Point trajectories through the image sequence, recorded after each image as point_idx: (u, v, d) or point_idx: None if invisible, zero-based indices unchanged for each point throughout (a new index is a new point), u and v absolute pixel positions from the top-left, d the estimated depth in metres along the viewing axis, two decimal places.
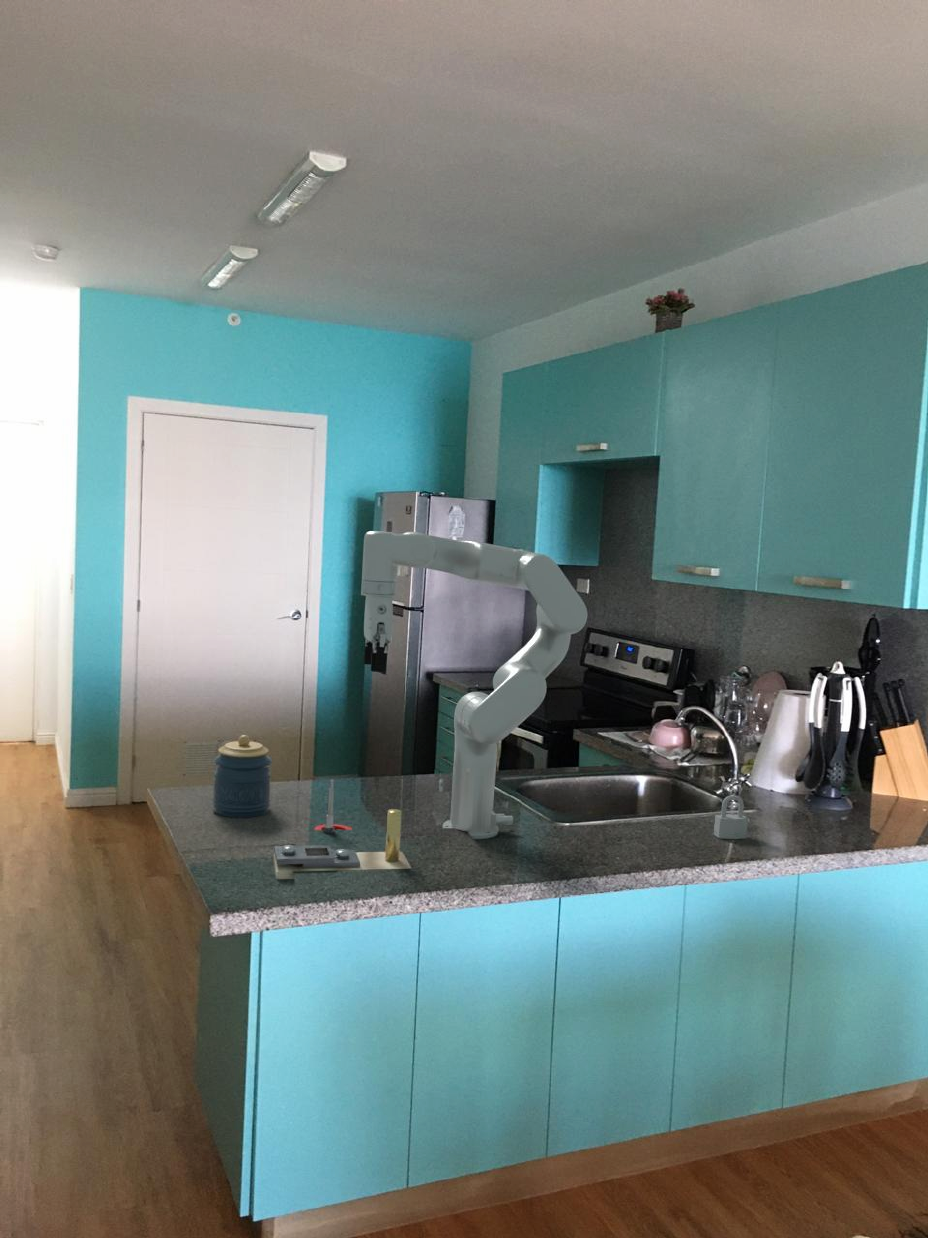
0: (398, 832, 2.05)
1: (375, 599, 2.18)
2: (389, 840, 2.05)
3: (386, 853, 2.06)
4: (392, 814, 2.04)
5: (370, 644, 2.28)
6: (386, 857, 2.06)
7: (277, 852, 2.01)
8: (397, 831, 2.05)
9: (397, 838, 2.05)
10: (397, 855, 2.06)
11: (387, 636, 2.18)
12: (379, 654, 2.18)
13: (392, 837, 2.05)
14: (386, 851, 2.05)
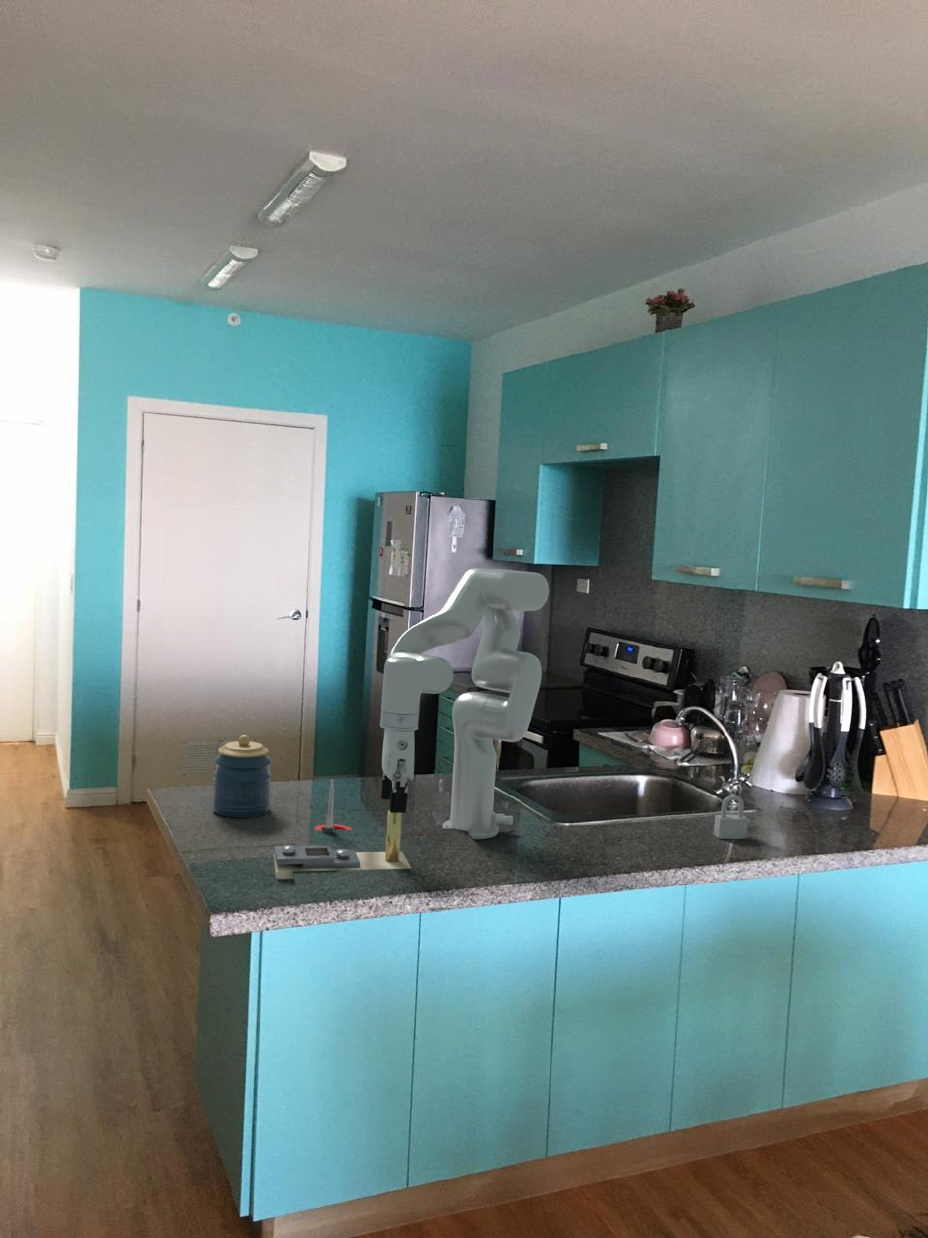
0: (398, 832, 2.05)
1: (396, 733, 1.99)
2: (389, 840, 2.05)
3: (386, 853, 2.06)
4: (392, 814, 2.04)
5: (388, 777, 2.09)
6: (386, 857, 2.06)
7: (277, 852, 2.01)
8: (397, 831, 2.05)
9: (397, 838, 2.05)
10: (397, 855, 2.06)
11: (408, 774, 2.00)
12: (399, 794, 1.99)
13: (392, 837, 2.05)
14: (386, 851, 2.05)
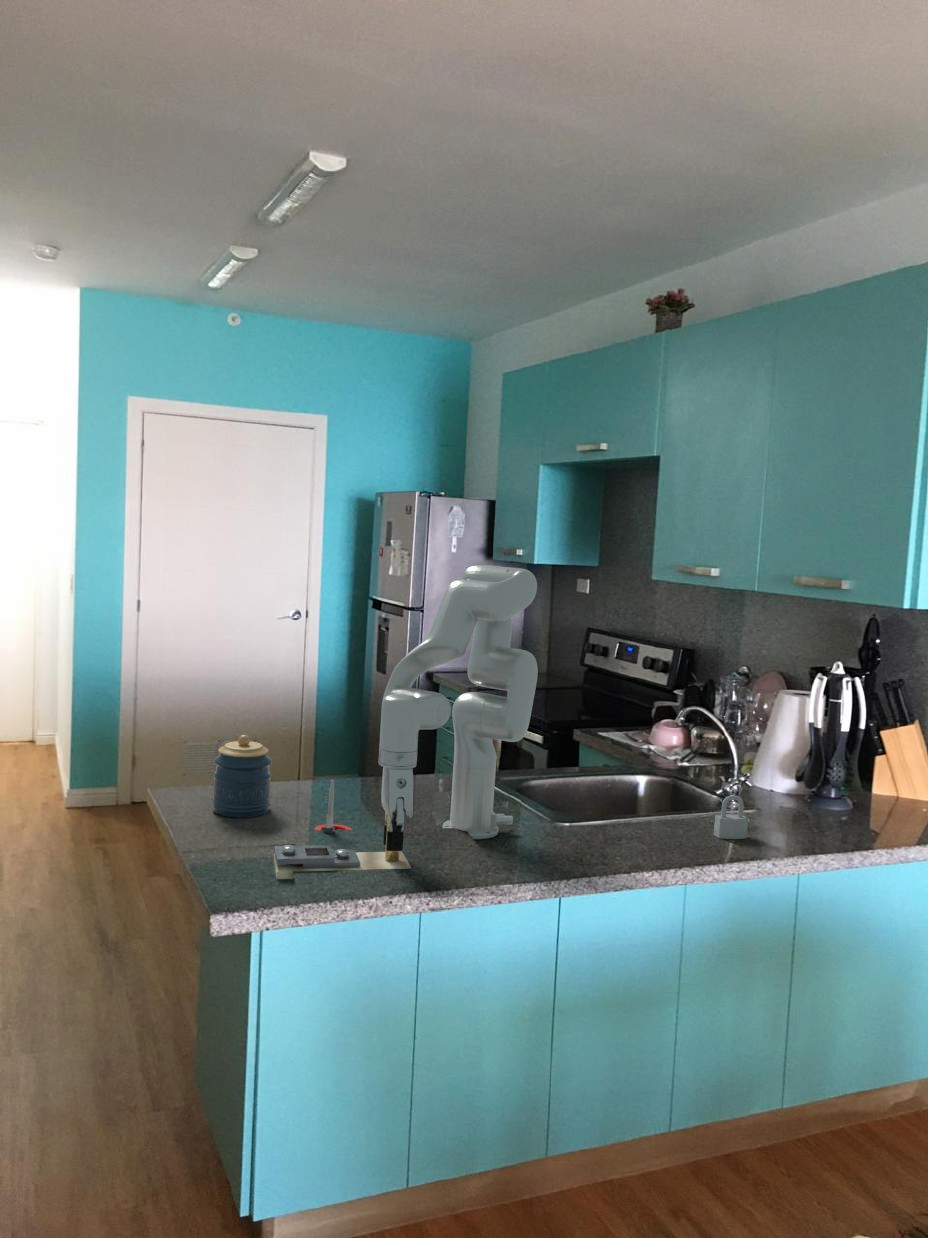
0: None
1: (394, 772, 2.00)
2: None
3: (386, 853, 2.06)
4: None
5: None
6: (386, 857, 2.06)
7: (277, 852, 2.01)
8: None
9: None
10: (397, 855, 2.06)
11: (407, 811, 2.01)
12: (395, 833, 2.03)
13: None
14: (387, 851, 2.06)
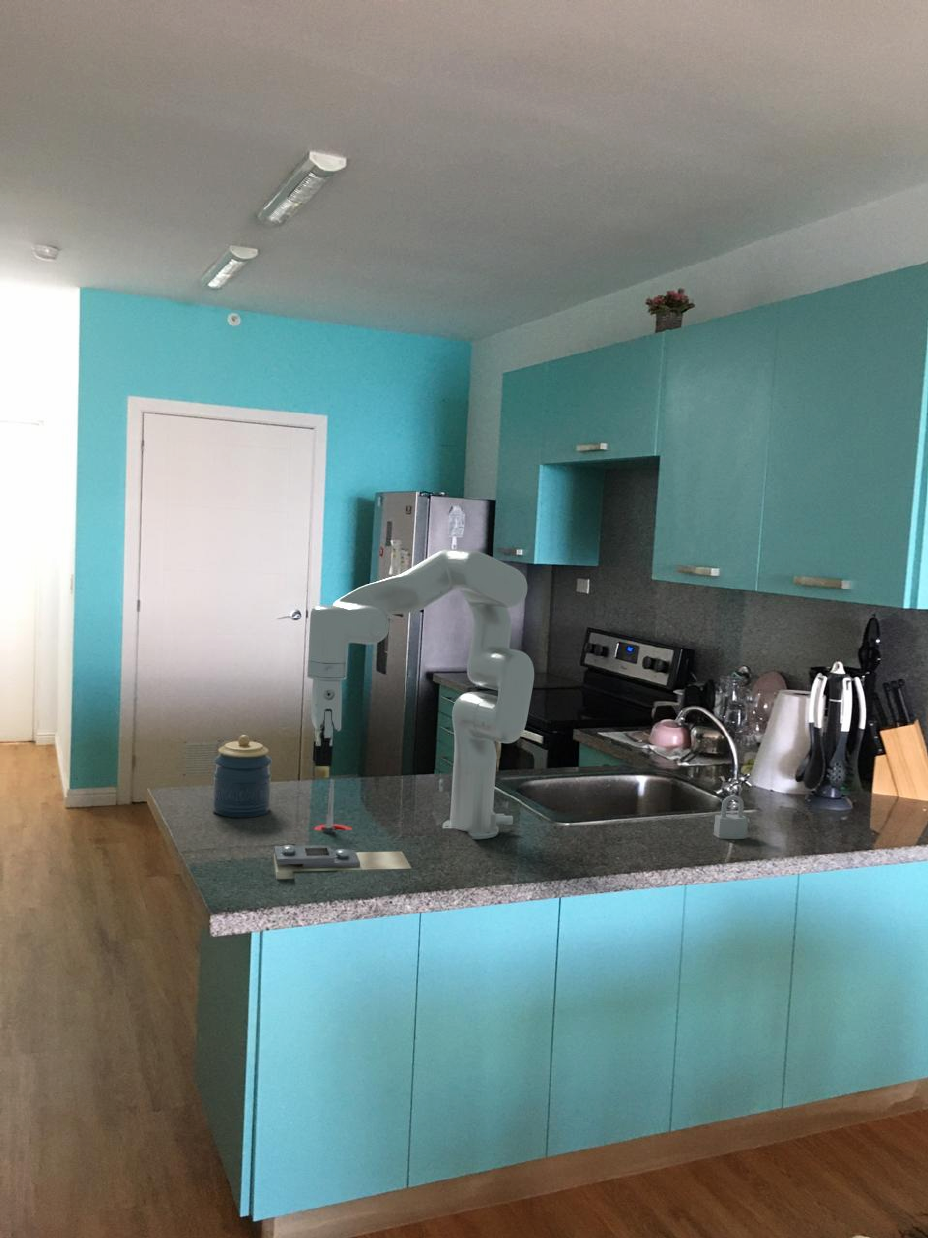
0: None
1: (322, 683, 1.95)
2: None
3: (315, 769, 2.00)
4: (321, 728, 1.99)
5: None
6: (315, 773, 2.00)
7: (277, 852, 2.01)
8: None
9: None
10: (326, 771, 2.00)
11: (335, 724, 1.96)
12: (324, 747, 1.98)
13: None
14: (315, 767, 2.00)
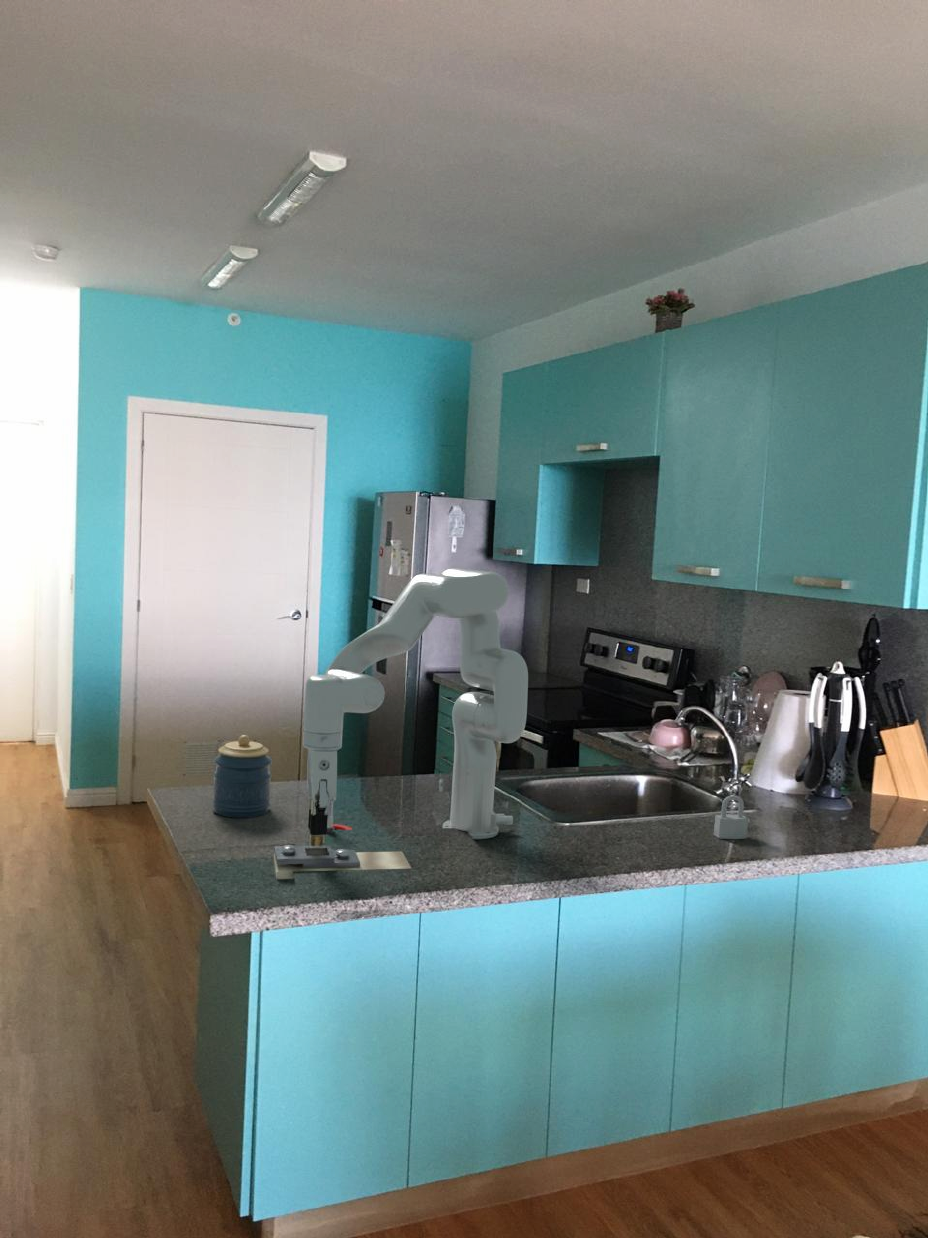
0: None
1: (317, 753, 1.96)
2: None
3: (310, 837, 2.01)
4: (316, 797, 2.00)
5: None
6: (310, 841, 2.01)
7: (277, 852, 2.01)
8: None
9: None
10: (321, 839, 2.01)
11: (330, 794, 1.97)
12: (319, 816, 1.99)
13: None
14: (311, 835, 2.01)
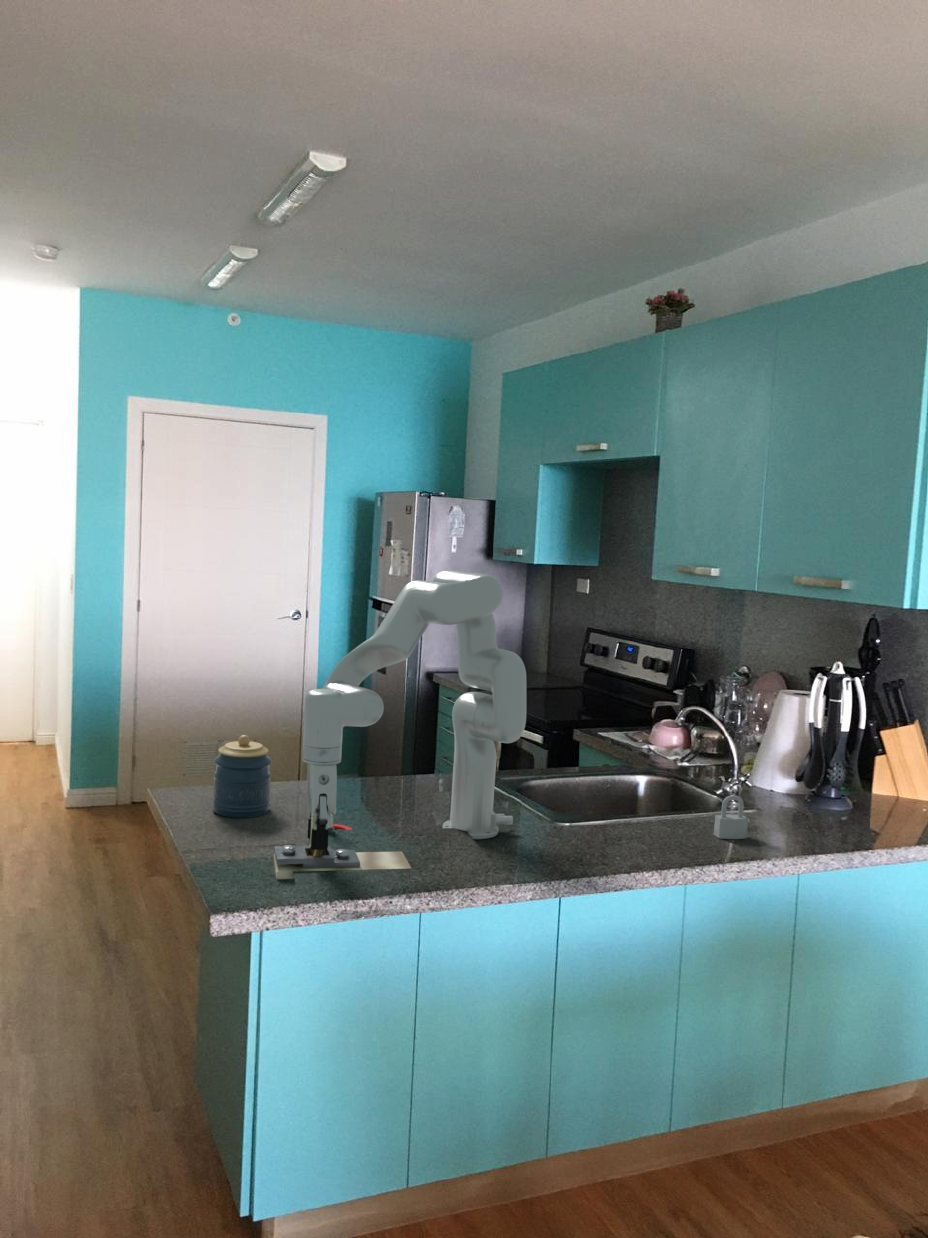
0: None
1: (317, 768, 1.96)
2: None
3: (310, 854, 2.02)
4: None
5: None
6: None
7: (277, 852, 2.01)
8: None
9: None
10: None
11: (330, 808, 1.97)
12: (320, 831, 1.98)
13: None
14: (311, 852, 2.02)
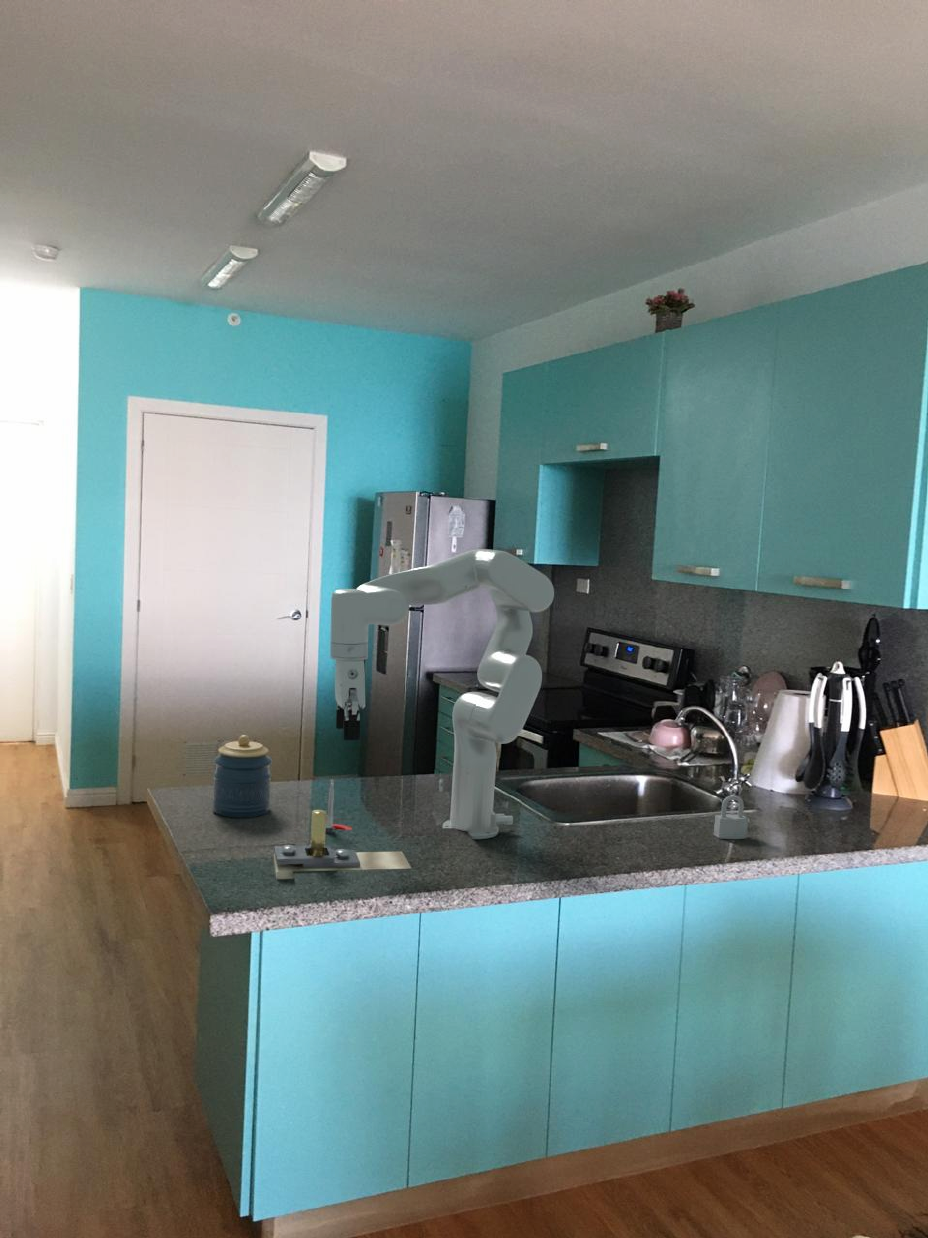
0: (322, 833, 2.01)
1: (345, 663, 2.04)
2: (313, 842, 2.01)
3: (310, 854, 2.02)
4: (316, 815, 2.00)
5: (342, 707, 2.14)
6: None
7: (277, 852, 2.01)
8: (321, 832, 2.01)
9: (321, 839, 2.01)
10: None
11: (360, 702, 2.05)
12: (352, 722, 2.04)
13: (316, 838, 2.01)
14: (311, 852, 2.02)
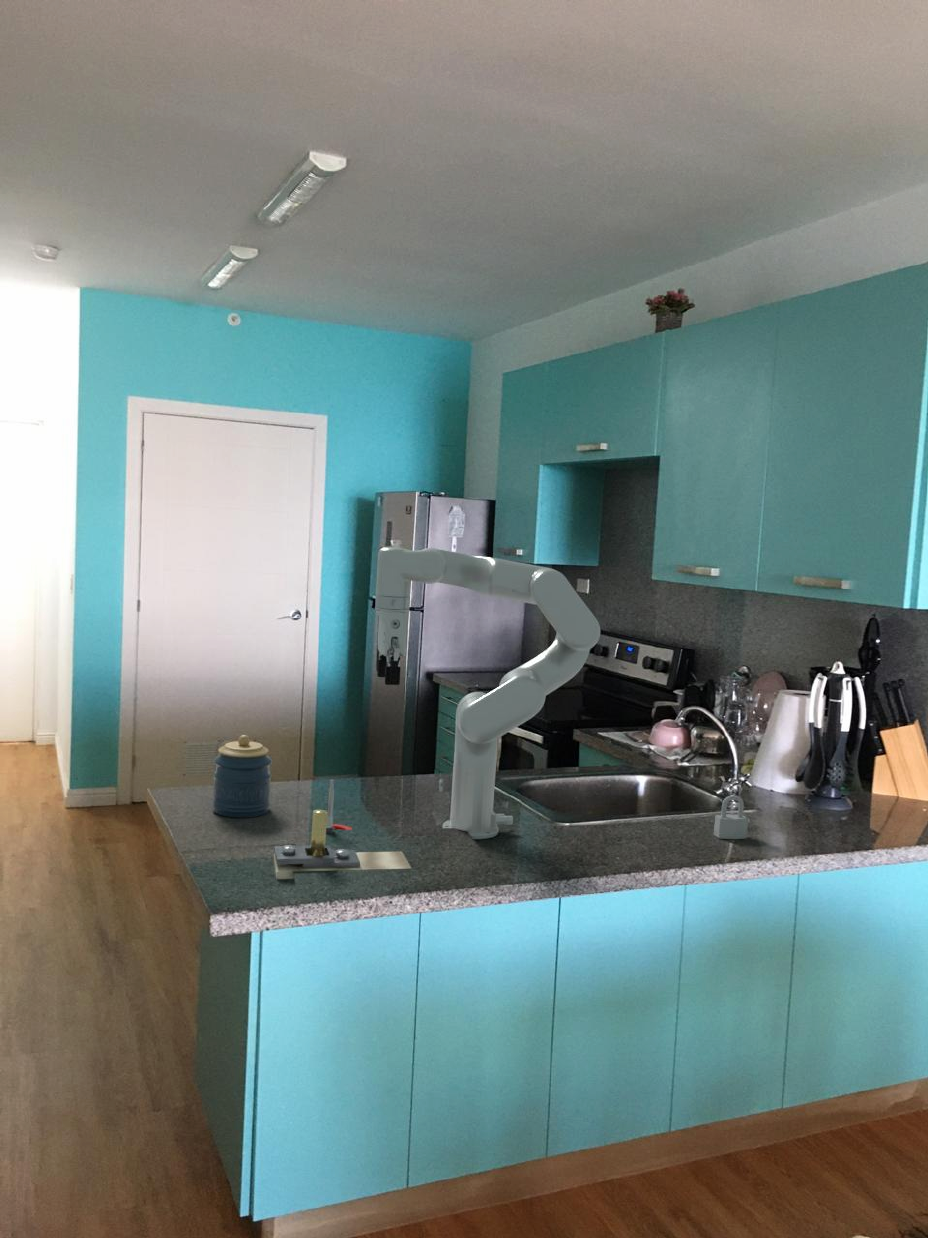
0: (323, 833, 2.02)
1: (389, 614, 2.23)
2: (314, 841, 2.01)
3: (310, 854, 2.02)
4: (317, 814, 2.01)
5: (383, 657, 2.33)
6: None
7: (277, 852, 2.01)
8: (322, 832, 2.01)
9: (322, 839, 2.01)
10: None
11: (401, 650, 2.24)
12: (393, 668, 2.23)
13: (317, 838, 2.01)
14: (311, 852, 2.02)
